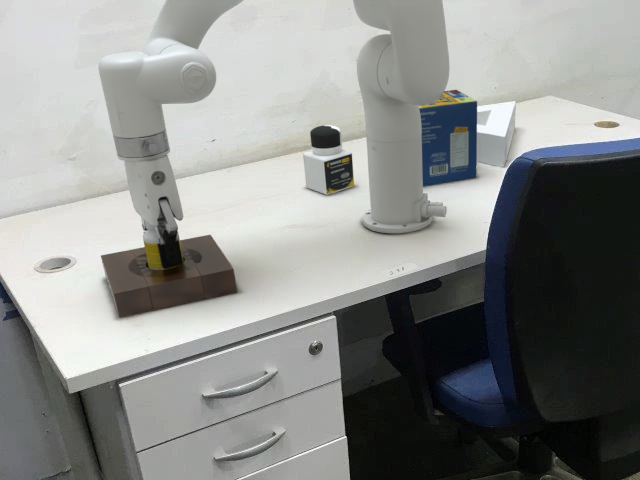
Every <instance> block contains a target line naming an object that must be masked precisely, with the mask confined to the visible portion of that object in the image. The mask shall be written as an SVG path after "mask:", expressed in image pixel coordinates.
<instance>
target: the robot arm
mask: <svg viewBox="0 0 640 480" xmlns="http://www.w3.org/2000/svg"><path fill="white" fill-rule="evenodd" d="M242 2H244V0H165V1H164V3H163V5H162V6H161V8H160V10H159V12H158V14H157V16H156V19H155V21H154V22H153V25H152V27H151V30H150V32H149V34H148V37H147V39H146V41H145V44H144V47H143V50H142V51H122V52H116V53H115V52H114V53H111V54H108V55H105V56H103V57H102V58H101V59H100V60H99V62H98V74H99V78H100V82H101V87H102V91H103V97H104V101H105V105H106V109H107V114H108V119H109V124H110V129H111V133H112V137H113V143H114V147H115V151H116V156H117V159H119V160H120V161H123V163H124V168H125V173H126V174H125V175H126V181H127V186H128V191H129V195H130V199H131V203H132V206H133V209H134V211H135V213H137V215H139V216H140V219H141V228H142V230H143V232H145V231H146V230H148V229H146V226H145V221H144V219H145V220H146V221H147V222H149V223H150V224H151V225H153V226H155V230H156V233H157V236H158V240H159V244H157V245H158V250H159V255H160V260H161V265H162V267H163V268H164V269H167V268H171V267H174V266H178V265H181V264H182V263H183V260H182V255H181V250H180V245H179V239H180V237H179V238H178V234H179V231H178V230H179V226H178V223H177V221H179V222H180V221H183V219H184V211H183V207H182V203H181V199H180V193H179V189H178V185H177V181H176V177H175V173H174V171H173V167H172V164H171V161H170V158H169V154H170V153H171V148H170V143H169V137H168V132H167V131H168V130H167V127H166V122H165V116H164V110H163V105H176V104H177V105H178V104H183V105H184V104H186V105H187V104H193V103H194V104H195V103H198V102H201V101H203V100H204V99H206V98H207V97H209V96H210V95H211V94H212V93H213V91H214V89H215V87H216V83H217V71H216V68H215V65H214V63H213V61H212V60H211V59H210V58H209V57H208V56H207V54H205V53H204V52H203V51H201V50H199V47H200V46H201V43H202V42H203V39H204V38H205V37H206V34H207V33H208V31H209V30H210V28H211V27H212V26H213V25H214V23H216V21H218V19H219V18H220V17H221V16H222V15H224V14H226V13H227V12H228V11H230V10H231V9H233V8H235V7H237V6H238V5H240V4H241V3H242ZM352 2H353V8H354V11H355V13H356V16H357V17H358V19H359V20H360V21H361V22H362V23H364V24H365V25H367V26H369V27H372V28H375V29H378V30H384V31H387V32H389V33H383V34H378V35H375V36H373V37H371V38H370V39H368V40H367V41H366V42H365V43H364V44H363V46H362V47H361V49H360V50H359V53H358V56H357V61H356V75H357V76H356V77H357V81H358V86H359V90H360V94H361V98H362V105H363V111H364V123H365V136H366V137H365V138H366V153H367V170H368V187H369V188H368V189H369V200H370V201H369V202H370V203H369V204H370V209H368V210H367V211H365V212H364V214H362V224H363V226H364V227H365V228H367V229H369V230H371V231H373V232H378V233H383V234H404V233H405V234H407V233H411V232H415V231H416V232H417V231H419V230H421V229H425V228H426V227H428V226H429V225H430V224H431V223H432V221H433V217H436V218H438V217H439V218H446V215H447V210H448V209H447V206H446V205H444V203H443V201H441V202H439V201H434V202H433V201H431V200H429V195H428V193H426V192H424V186H423V172H422V126H421V116H420V110H419V106H424V105H429V104H432V103H434V102H435V101H437V100H438V99H439V98H440V97H441V95H442V94H443V93H444V91H446V88H447V85H448V82H449V78H450V56H449V55H450V54H449V45H448V37H447V28H446V27H447V26H446V19H445V9H444V3H443V0H352ZM162 218H163V219H164V221H165V222H162V223H159V222H158V221H157V220H158V219H162ZM176 220H177V221H176ZM164 226H166V230H164V231H163V234H162V231H161V228H160V227H164ZM177 233H178V234H177Z"/></svg>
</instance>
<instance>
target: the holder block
mask: <svg viewBox="0 0 640 480" xmlns="http://www.w3.org/2000/svg"><path fill="white" fill-rule="evenodd" d="M180 245H181V250H182V256H183V261H184V263H183V264H181V265H180V266H177V267H174V268H171V269H166V270H153V269H149V266H148V261H147V256H146V251H145V246H143V247H138V248H133V249H127V250H122V251H117V252H112V253H106V254H100V259H101V263H102V268H103V272H104V275H105V279H106V282H107V285H108V288H109V292H110V294H111V297H112V300H113V303H114V307H115V309H116V313H117V315H118V318H125V317H129V316H133V315H134V316H135V315H139V314H143V313H147V312H152V311H157V310H161V309H166V308H170V307H171V308H172V307H176V306H180V305H185V304H190V303H194V302H199V301H203V300H209V299H213V298H217V297H222V296H227V295H232V294H236V293H238V287H237V280H236V274H235V269H234V267H233V265H232V264H231V263H230V261H229V259H228V258H227V257H226V255H225V254H224V252H223V251H222V249H221V248H220V246H219V245H218V243H217V242H216V240H215V239H214V237H213V236H212V234H206V235H201V236H195V237H191V238H185V239H180Z"/></svg>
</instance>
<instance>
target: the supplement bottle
mask: <svg viewBox="0 0 640 480" xmlns="http://www.w3.org/2000/svg"><path fill="white" fill-rule="evenodd" d="M144 221H145V226H146V229H148V230H146V231H143V235H142V240H143V247H145V251H146V256H147V261H148V266H149V269H153V270H166V269H164V268H163V267H162V265H161V260H160V255H159V250H158V245H157V244H159V240H158V236H157V233H156V230H155V226H153V225H151V224H150V223H149V222H147V221H146V220H145V219H144ZM157 221H158V222H159V223H162V222H165V221H164V219H163V218H162V219H158V220H157ZM160 228H161V231H162V234H163V231H164V230H166V226H164V227H160ZM177 234H178V238H179V245H180V240H181V238H180V234H179V232H178V233H177ZM180 250H181V245H180ZM181 255H182V250H181ZM182 260H183V256H182ZM183 263H184V261H183ZM183 263H182V264H183ZM178 266H180V265H178ZM174 267H177V266H174ZM174 267H171V268H174ZM171 268H167V269H171Z"/></svg>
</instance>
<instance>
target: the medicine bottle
mask: <svg viewBox="0 0 640 480" xmlns="http://www.w3.org/2000/svg"><path fill="white" fill-rule="evenodd" d="M309 135H310V144H311V150H310V151H307V152H303V155H302V159H303V168H304V169H303V170H304V176H305V187H306V188H307V189H309V190H312V191H315V192H317V193H321V194H323V195H326V196H328V195H332V194H335V193H338V192H341V191H344V190H347V189H350V188H354V186H355V179H354V177H355V176H354V165H353V152H352V151H349V150H346V149H343V141H342V140H343V138H342V130H341V129H340V127H338V126H336V125H329V124H326V125H325V124H324V125H318V126H316V127H313V128H312V129H311V130H310V132H309Z"/></svg>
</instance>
